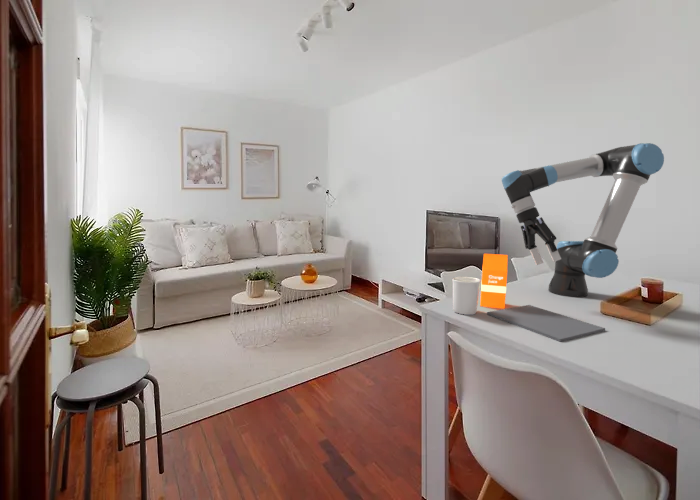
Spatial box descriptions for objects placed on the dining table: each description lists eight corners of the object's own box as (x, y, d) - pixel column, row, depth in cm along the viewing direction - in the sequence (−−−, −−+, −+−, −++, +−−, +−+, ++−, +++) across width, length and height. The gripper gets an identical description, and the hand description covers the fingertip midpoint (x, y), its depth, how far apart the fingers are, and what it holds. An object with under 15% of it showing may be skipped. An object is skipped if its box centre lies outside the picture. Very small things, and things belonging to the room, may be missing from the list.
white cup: (445, 309, 141) (446, 277, 140) (466, 306, 145) (468, 275, 143) (462, 316, 132) (464, 283, 131) (484, 313, 136) (486, 281, 134)
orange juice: (504, 308, 143) (508, 256, 140) (480, 306, 145) (483, 255, 142) (503, 303, 150) (507, 253, 147) (480, 301, 153) (483, 252, 150)
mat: (529, 306, 145) (529, 304, 145) (604, 330, 121) (605, 328, 121) (487, 314, 136) (487, 312, 136) (560, 341, 111) (560, 339, 111)
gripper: (504, 220, 157) (524, 268, 154) (530, 205, 132) (555, 262, 129) (521, 214, 157) (542, 262, 154) (550, 198, 132) (575, 255, 130)
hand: (548, 262), depth 142 cm, fingers open, 13 cm apart
